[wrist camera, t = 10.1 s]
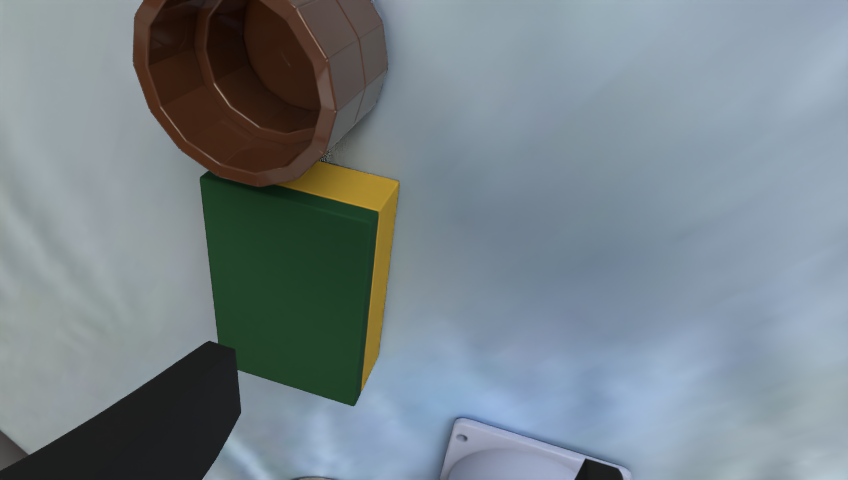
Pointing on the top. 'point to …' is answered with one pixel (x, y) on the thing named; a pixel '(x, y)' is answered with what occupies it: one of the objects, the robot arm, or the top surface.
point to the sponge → (302, 275)
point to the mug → (314, 479)
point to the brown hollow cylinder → (259, 79)
